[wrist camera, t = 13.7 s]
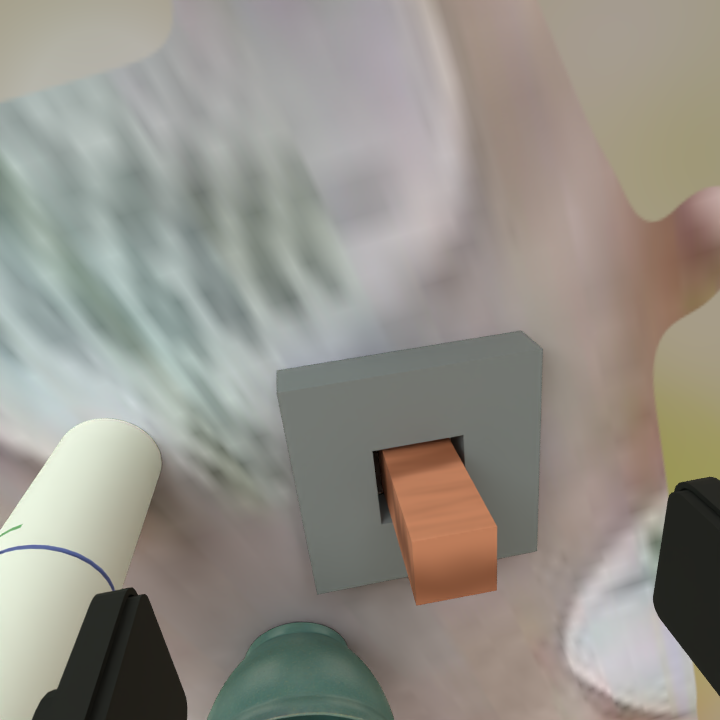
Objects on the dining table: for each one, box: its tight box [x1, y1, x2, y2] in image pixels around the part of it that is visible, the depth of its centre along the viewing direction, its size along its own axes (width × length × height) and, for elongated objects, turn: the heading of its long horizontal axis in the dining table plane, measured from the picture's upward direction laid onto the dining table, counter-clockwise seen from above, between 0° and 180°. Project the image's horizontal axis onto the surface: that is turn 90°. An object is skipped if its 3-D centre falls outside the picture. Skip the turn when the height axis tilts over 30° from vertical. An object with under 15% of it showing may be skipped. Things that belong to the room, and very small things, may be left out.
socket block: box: [277, 331, 543, 595], centre depth 41 cm, size 18×18×4 cm
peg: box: [378, 438, 497, 605], centre depth 37 cm, size 5×5×12 cm
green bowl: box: [207, 622, 394, 720], centre depth 45 cm, size 16×16×11 cm
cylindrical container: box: [0, 418, 162, 720], centre depth 28 cm, size 7×7×25 cm
